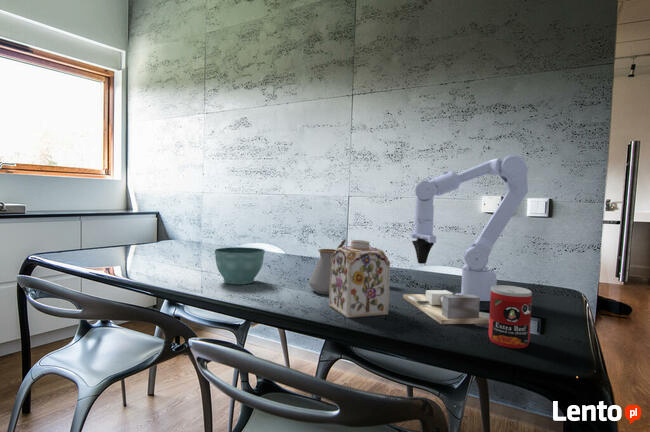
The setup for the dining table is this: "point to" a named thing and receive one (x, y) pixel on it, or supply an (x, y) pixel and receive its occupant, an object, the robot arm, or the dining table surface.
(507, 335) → the canned food
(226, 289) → the dining table surface
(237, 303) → the dining table surface
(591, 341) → the dining table surface
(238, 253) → the flower pot
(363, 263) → the decorative jar
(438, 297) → the gauge carriage
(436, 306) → the bench
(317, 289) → the coffee pot
